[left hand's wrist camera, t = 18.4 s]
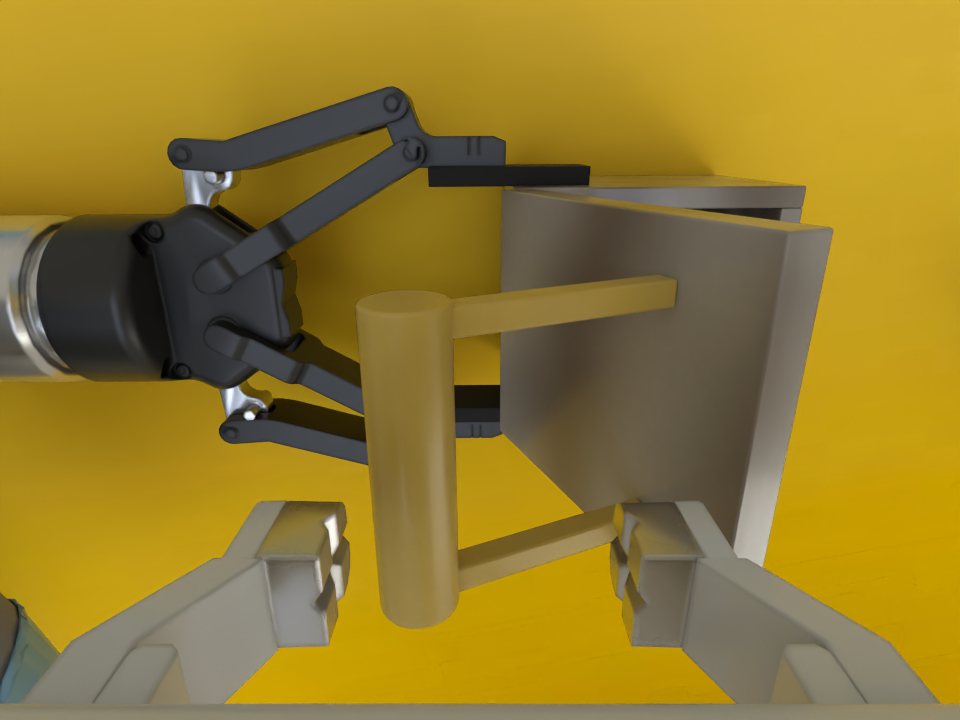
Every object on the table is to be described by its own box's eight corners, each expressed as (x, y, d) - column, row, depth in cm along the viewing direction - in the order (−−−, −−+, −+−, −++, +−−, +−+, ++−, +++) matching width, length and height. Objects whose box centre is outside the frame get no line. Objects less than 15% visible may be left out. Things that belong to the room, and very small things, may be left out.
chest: (716, 174, 30) (807, 185, 22) (693, 351, 34) (763, 418, 25) (504, 176, 30) (514, 187, 22) (502, 353, 34) (511, 420, 25)
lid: (836, 227, 11) (397, 266, 8) (752, 624, 15) (426, 769, 11) (530, 188, 21) (288, 198, 18) (524, 424, 25) (321, 469, 22)
